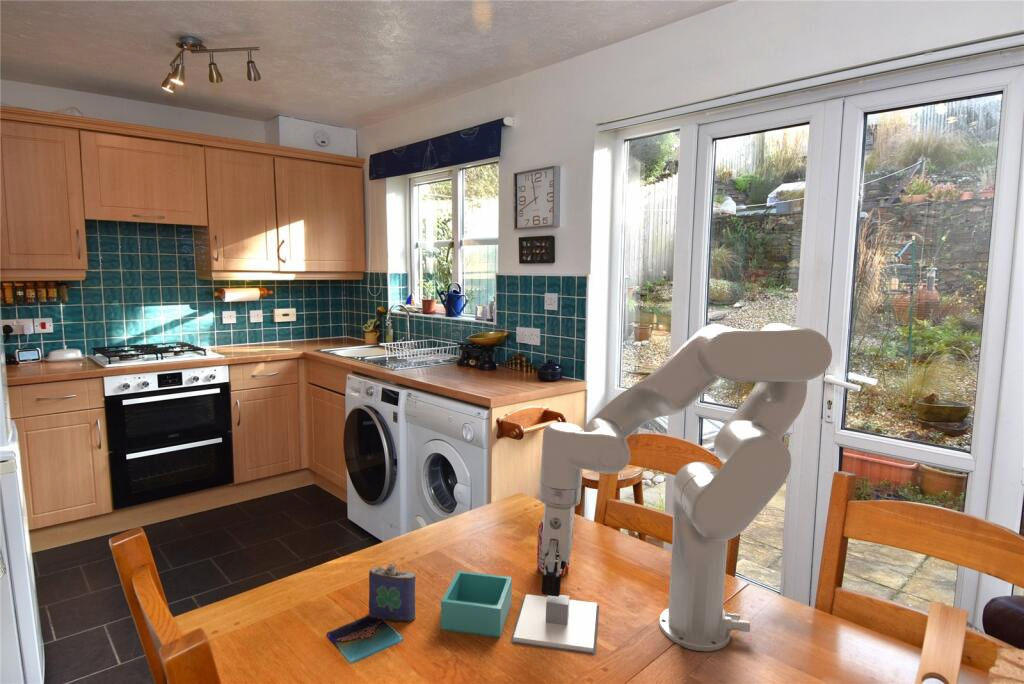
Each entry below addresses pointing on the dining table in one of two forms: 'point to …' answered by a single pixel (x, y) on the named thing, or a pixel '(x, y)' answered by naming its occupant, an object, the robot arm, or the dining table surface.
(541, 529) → the soda can
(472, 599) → the teal open box
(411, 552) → the dining table surface
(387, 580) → the flask
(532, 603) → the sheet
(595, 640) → the mat
